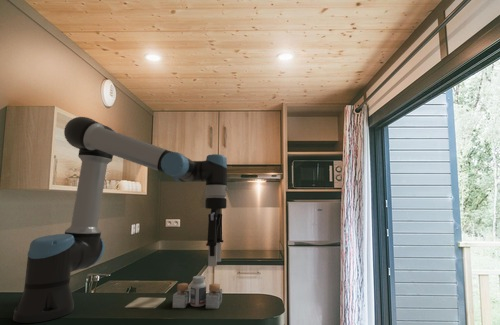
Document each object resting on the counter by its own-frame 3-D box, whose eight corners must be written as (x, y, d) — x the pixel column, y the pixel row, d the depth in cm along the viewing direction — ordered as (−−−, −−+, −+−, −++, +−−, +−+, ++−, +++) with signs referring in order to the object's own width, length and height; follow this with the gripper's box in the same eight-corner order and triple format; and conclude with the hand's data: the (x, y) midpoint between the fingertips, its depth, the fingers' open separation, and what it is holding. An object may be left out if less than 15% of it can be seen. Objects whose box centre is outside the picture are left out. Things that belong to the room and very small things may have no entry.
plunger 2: (207, 302, 95) (208, 286, 95) (210, 298, 98) (210, 283, 99) (218, 302, 94) (218, 286, 95) (220, 298, 98) (220, 283, 99)
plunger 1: (175, 301, 95) (176, 285, 96) (178, 298, 99) (179, 283, 100) (186, 301, 95) (186, 285, 96) (188, 298, 99) (189, 283, 100)
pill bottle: (206, 301, 99) (207, 275, 101) (205, 306, 94) (205, 278, 95) (191, 302, 99) (192, 275, 100) (188, 307, 94) (189, 278, 95)
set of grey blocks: (172, 307, 93) (173, 294, 94) (180, 300, 101) (180, 288, 102) (217, 308, 92) (218, 295, 93) (221, 301, 100) (222, 288, 101)
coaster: (125, 307, 93) (125, 306, 93) (138, 298, 103) (138, 297, 103) (154, 308, 92) (154, 307, 92) (165, 299, 102) (165, 297, 102)
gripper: (221, 196, 92) (220, 270, 88) (230, 198, 112) (229, 258, 108) (198, 196, 92) (196, 269, 88) (211, 198, 113) (210, 258, 109)
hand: (214, 263), depth 98 cm, fingers open, 8 cm apart
